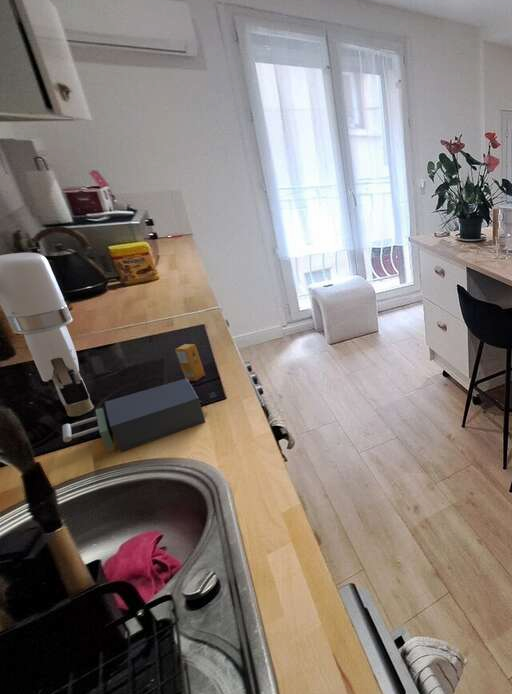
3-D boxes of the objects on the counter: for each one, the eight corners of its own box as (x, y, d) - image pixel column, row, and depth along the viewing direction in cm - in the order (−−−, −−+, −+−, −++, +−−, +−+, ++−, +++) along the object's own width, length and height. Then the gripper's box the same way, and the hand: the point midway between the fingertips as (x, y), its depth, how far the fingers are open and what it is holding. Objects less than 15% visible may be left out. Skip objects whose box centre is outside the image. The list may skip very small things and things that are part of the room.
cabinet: (120, 452, 86) (110, 426, 84) (114, 426, 94) (104, 401, 92) (205, 421, 96) (198, 398, 94) (193, 400, 104) (186, 378, 102)
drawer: (71, 464, 81) (62, 444, 80) (69, 438, 88) (61, 419, 87) (189, 422, 94) (183, 405, 93) (178, 402, 101) (173, 386, 100)
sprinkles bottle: (78, 407, 100) (57, 358, 95) (100, 405, 101) (80, 357, 96) (61, 418, 96) (39, 368, 91) (84, 417, 97) (62, 367, 92)
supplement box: (193, 375, 115) (184, 343, 112) (205, 375, 115) (196, 343, 112) (184, 381, 112) (174, 348, 109) (196, 381, 112) (186, 349, 109)
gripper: (12, 313, 79) (50, 393, 86) (8, 336, 70) (51, 424, 77) (68, 303, 84) (100, 380, 91) (71, 324, 75) (107, 407, 82)
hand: (78, 400), depth 84 cm, fingers closed
